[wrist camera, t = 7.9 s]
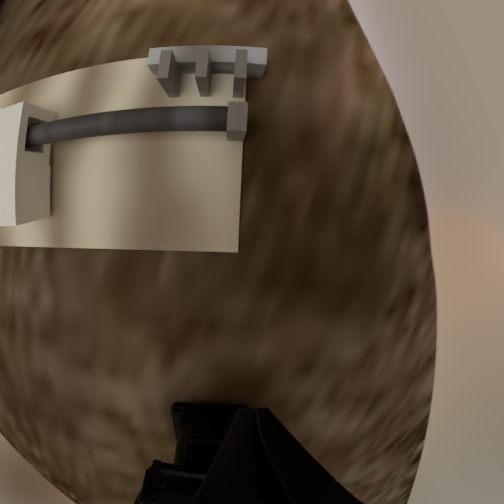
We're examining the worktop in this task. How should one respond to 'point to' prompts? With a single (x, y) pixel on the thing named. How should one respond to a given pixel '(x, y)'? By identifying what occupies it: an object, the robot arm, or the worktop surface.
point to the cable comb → (143, 151)
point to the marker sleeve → (23, 166)
